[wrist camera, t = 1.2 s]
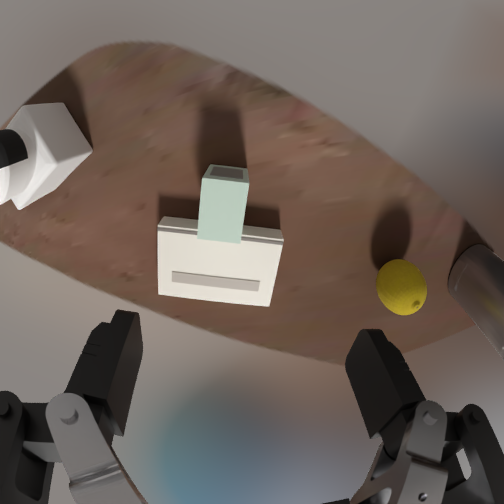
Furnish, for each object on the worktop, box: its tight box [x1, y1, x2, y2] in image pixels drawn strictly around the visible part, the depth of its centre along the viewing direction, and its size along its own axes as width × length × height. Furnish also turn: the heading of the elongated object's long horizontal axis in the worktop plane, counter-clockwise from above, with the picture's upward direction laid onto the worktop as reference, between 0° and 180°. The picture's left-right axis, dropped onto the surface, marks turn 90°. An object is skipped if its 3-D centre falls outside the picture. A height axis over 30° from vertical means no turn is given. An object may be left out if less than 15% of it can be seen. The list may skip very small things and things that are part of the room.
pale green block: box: [197, 164, 249, 244], centre depth 25 cm, size 4×5×6 cm
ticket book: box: [158, 216, 284, 306], centre depth 30 cm, size 12×8×2 cm, turn 82°
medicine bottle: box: [0, 103, 93, 210], centre depth 19 cm, size 7×7×12 cm
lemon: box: [376, 259, 427, 315], centre depth 29 cm, size 6×6×8 cm
